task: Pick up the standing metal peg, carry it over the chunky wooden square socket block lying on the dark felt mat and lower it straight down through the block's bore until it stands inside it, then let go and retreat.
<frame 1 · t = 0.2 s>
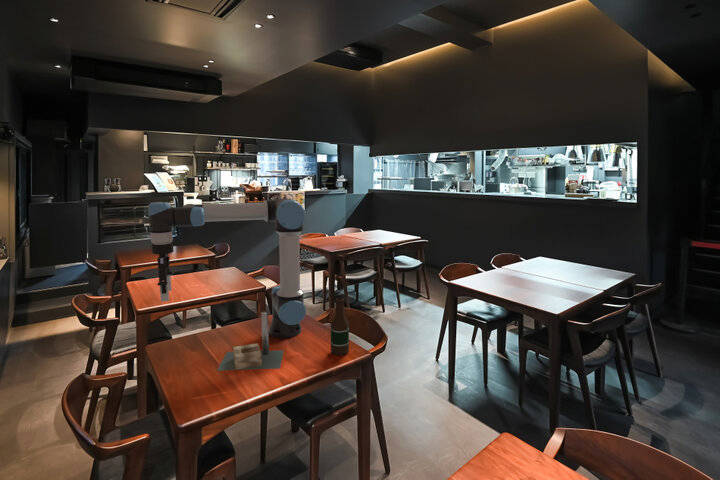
hand: (166, 295, 155), 28 cm above the table, fingers open, 13 cm apart
beer bottle: (339, 352, 169), on the table
metal peg: (265, 353, 167), resting on felt mat
felt mat: (252, 360, 161), on the table
wooden square socket block: (247, 361, 159), resting on felt mat
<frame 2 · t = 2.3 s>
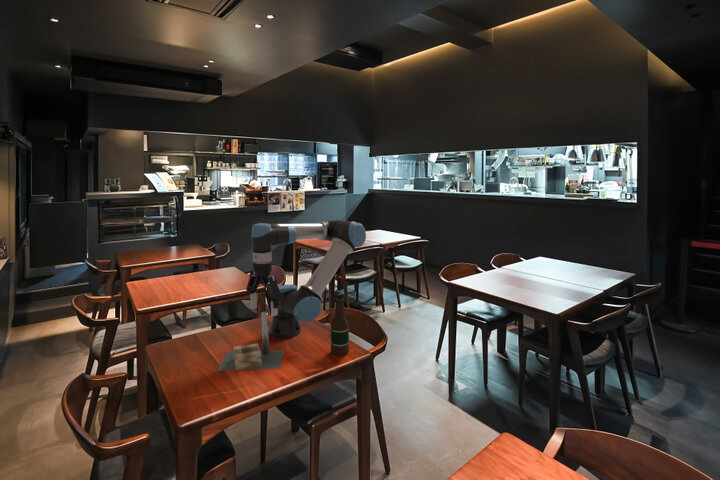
hand: (263, 311, 163), 19 cm above the table, fingers open, 13 cm apart
nothing on the table moved.
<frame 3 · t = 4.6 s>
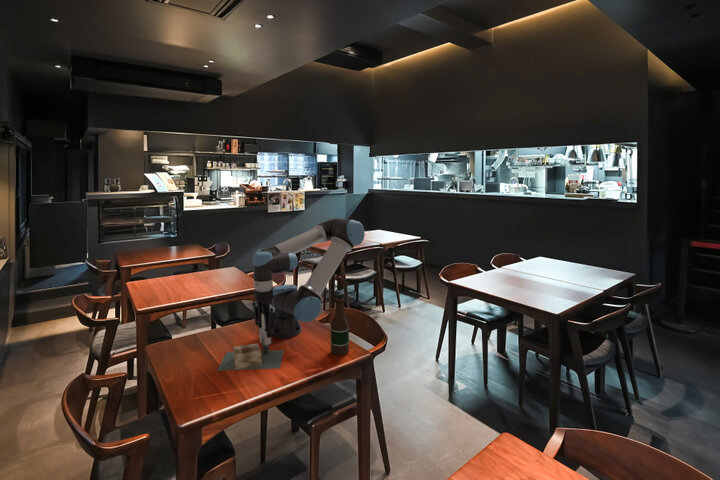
hand: (265, 343, 166), 5 cm above the table, fingers closed on metal peg, 2 cm apart
metal peg: (265, 353, 167), resting on felt mat, touching gripper
everything else where it was.
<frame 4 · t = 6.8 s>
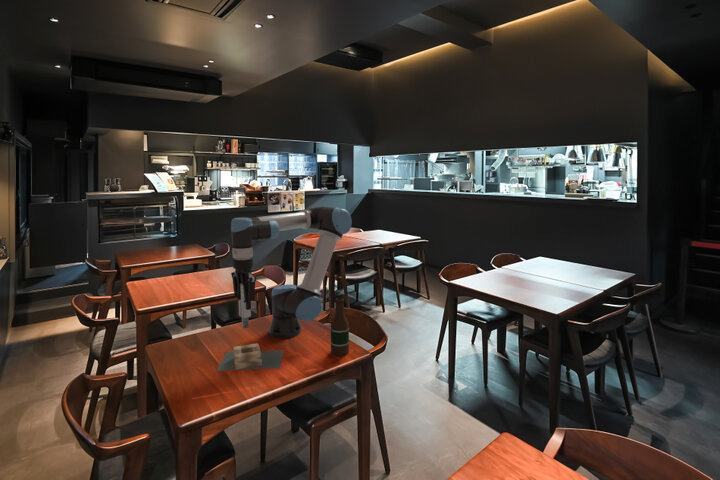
hand: (245, 315, 156), 20 cm above the table, fingers closed on metal peg, 2 cm apart
metal peg: (245, 326, 156), point 15 cm above the table, touching gripper
everything else where it was.
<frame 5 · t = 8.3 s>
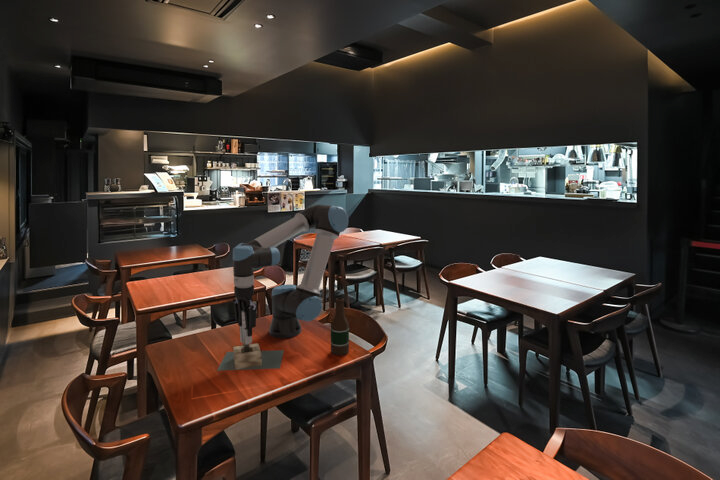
hand: (246, 342, 158), 9 cm above the table, fingers closed on metal peg, 2 cm apart
metal peg: (246, 352, 158), point 4 cm above the table, touching gripper
everything else where it was.
when the fingers open (6 cm above the table, at t = 9.3 s): metal peg drops 1 cm, resting on felt mat.
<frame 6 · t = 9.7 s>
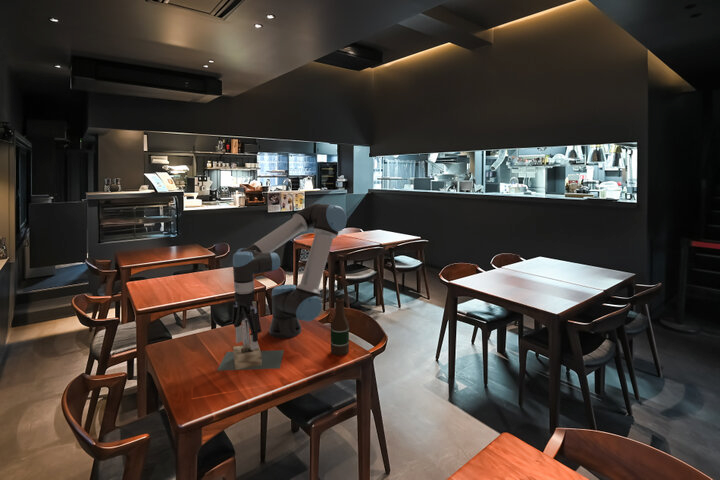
hand: (246, 345, 158), 8 cm above the table, fingers open, 9 cm apart
metal peg: (247, 361, 159), resting on felt mat
everything else where it was.
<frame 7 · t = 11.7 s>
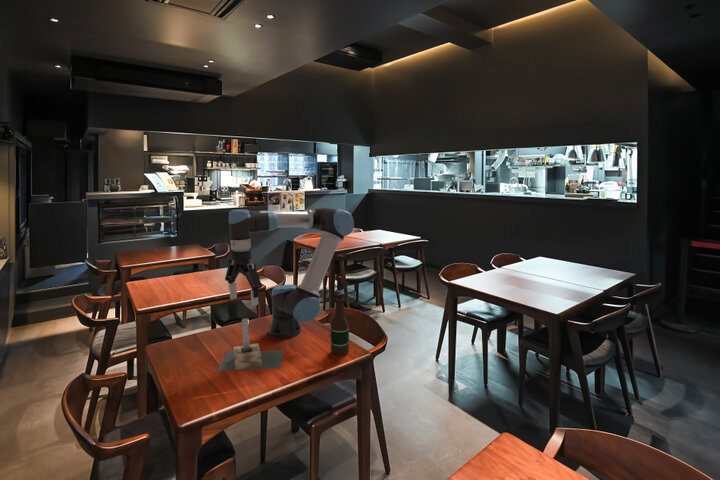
hand: (244, 301, 157), 25 cm above the table, fingers open, 13 cm apart
nothing on the table moved.
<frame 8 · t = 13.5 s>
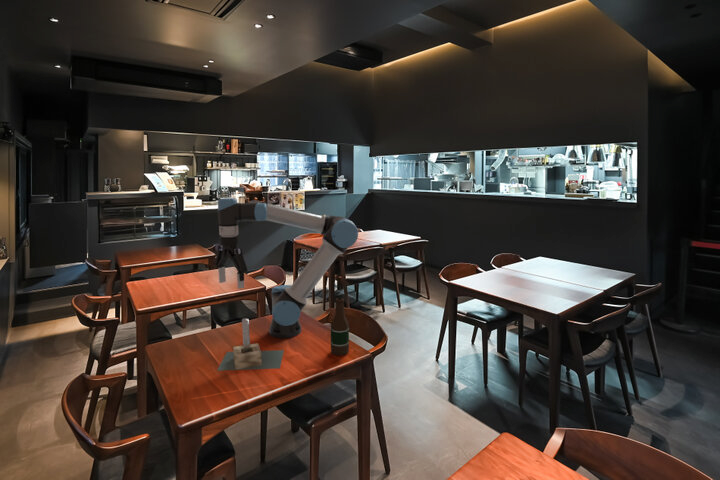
hand: (231, 285, 167), 29 cm above the table, fingers open, 13 cm apart
nothing on the table moved.
at the end: metal peg 0.0 cm off-centre on the wooden square socket block, point 0.0 cm above the wooden square socket block's base; metal peg tilted 1°; wooden square socket block moved 0.0 cm from its start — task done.
